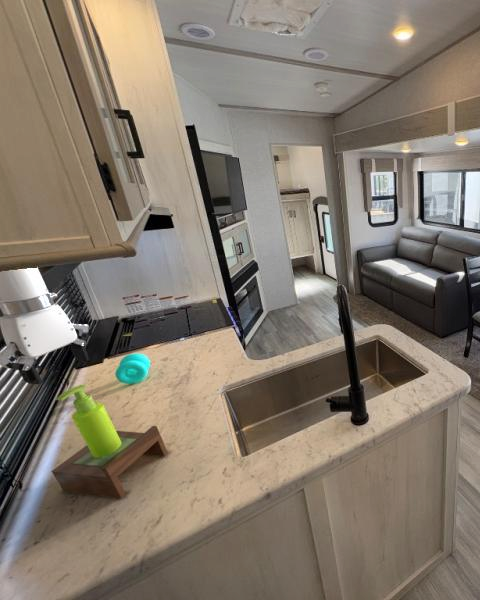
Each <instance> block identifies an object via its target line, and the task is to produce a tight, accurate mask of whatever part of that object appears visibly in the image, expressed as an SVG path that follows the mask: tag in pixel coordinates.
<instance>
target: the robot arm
mask: <svg viewBox="0 0 480 600" xmlns="http://www.w3.org/2000/svg"><path fill="white" fill-rule="evenodd" d="M57 298H58V294H57V293H56V292H50V291H49V289H48V288H47V285H46V283H45V281H44V279H43V276H42V274H41V272H40V270H39V268H38V267H37V268H27V269H18V270H9V271H2V272H0V310H1V312H2V314H3V316H0V331H1V334H2V337H3V340H4V342H5V345H6V347H5V348H4V349H3V350H1V351H0V367H3V369H9V370H14V371H18V372H19V374H20V375H21V377H22V379H23V381H24V382H25V383H27V384H29V385H40V384H42V383H43V380H42V378H41V375H40V374H39V372H38V370H37V368H36V367H32V366H33V363H34V361H35V360H36V358H40V357H41V356H44V355H46V354H49V353H51V352H54V351H56V350H58V349H62V348H63V347H66V346H68V345H70V351H71V353H72V355H73V357H74V359H75V360H76V361H77V362H88V361H89V360H90V358H89V356H88V355H89V354H88V351H87V349H86V347H85V346H86V344H87V342H86V341H87V339H88V337H89V330H90V329H89V328H90V325H89V324H81V323H72V322H71V320H70V318H69V316H68V315H67V314H66V312H65V311H64V309H63V308H62V307H61V306H60V305H59V304H58V303H55V301H54V299H57ZM76 330H77V331H78V333H77V331H76ZM11 356H12V358H15V359H16V360H15V362H14V361H12V360H10V359H9V358H11Z"/></svg>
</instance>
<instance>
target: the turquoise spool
mask: <svg viewBox="0 0 480 600" xmlns="http://www.w3.org/2000/svg"><path fill="white" fill-rule="evenodd" d="M150 367H151V360H150V359H149V358H148V356H147V355H145V354H143V353H131V354H130V353H129V354H127V355H126V356H124V357H122V359H121V360H120V362H119V363H118V366H117V368H116V370H115V375H114V376H115V378H116V380H117V381H119V383H122V384H126V385H133V384H137V383H140V382H141V381H144V379H145V378H146V377H147V375H148V372H149V368H150Z"/></svg>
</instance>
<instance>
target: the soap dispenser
mask: <svg viewBox="0 0 480 600" xmlns="http://www.w3.org/2000/svg"><path fill="white" fill-rule="evenodd" d="M86 388H88V387H87V385H85V384H79V385H76V386H74V387H72V388H70V389H67V390H66V391H65V392H63V393H61V394H60V395H58V396H57V397H56V398H55V399H54V400H55V401H64V400H66V399H67V398H69V397H70V396H72V395H73V396H74V397H75V399H74V400H73V402H72V404H73V406H74V408H75V412H73V414H72V415H71V418H72V420H73V422H74V423H75V426H76V427H77V429H78V431H79V433H80V435H81V436H82V438H83V440H84V442H85V444H86V446H88V448H89V449H90V451H91V453H92V455H93V457H95V458H101V457H104V456H107V455H109V454H111V453H113V452H114V451H116V450H117V449H118V448H119V447H120V446H121V444H122V442H121V440H120V438H119V436H118V434H117V432H116V431H117V430H116V428H115V426H114V424H113V422H112V420H111V418H110V416H109V414H108V412H107V410H106V408H105V406H104V403H102V402H95V401H94V399H93V397H92V395H91V394H86V393H85V391H84V390H85V389H86Z"/></svg>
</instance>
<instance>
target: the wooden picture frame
mask: <svg viewBox="0 0 480 600" xmlns="http://www.w3.org/2000/svg"><path fill="white" fill-rule="evenodd" d="M116 432H117V434H118V436H119V438H120V440H121V442H122V444H121V446H120V447H119V448H118V449H117V450H116V451H114V452H113V453H111V454H109V455H107V456H104V457H101V458H95V457H93V455H92V453H91V451H90V449H89V448H88V446H87V445H85V446H84V447H82V448H81V449H80V450H78V451H77V452H75V453H74V454H72V456H70V457H69V458H67V459H66V460H65V461H63V462H61V464H59V465H57V466H56V467H55V468H53V469H52V470H51V473H52V474H53V476H54V478H55V480H56V481H57V483H58V484H59V486H60V487H61V490H62V491H63V492H67V493H76V494H84V495H90V496H91V495H93V496H100V497H107V498H117V499H122V498H123V497H124V496H126V494H127V493H126V491H125V489H124V487H123V485H122V484H121V481H120V480H119V478H118V476H120V475H121V474H122V473H123V472H124V471H125V470H126V469H128V468H129V467H130V466H131V465H132V464H133V463H134V462H135V461H136V460H138V459H139V458H140V457H141V456H142V455H146V456H155V457H166V456H167V455H168V454H169V452H168V450H167V447H166V445H165V443H164V442H165V441H164V440H163V438H162V436H161V433H160V431H159V429H158V426H157V425H152V426H151V427H150V428H148V429H147V430H146V431H144V432H135V431H123V430H116Z"/></svg>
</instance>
